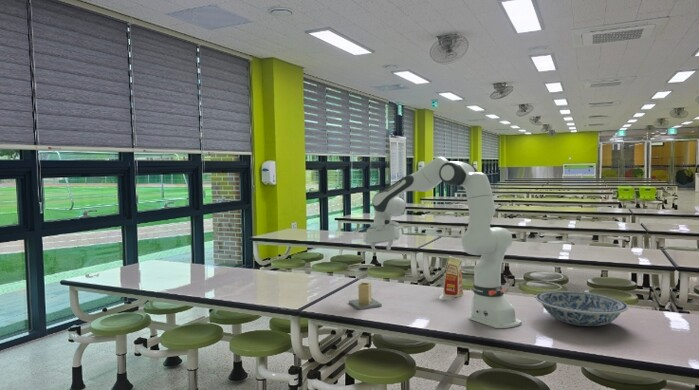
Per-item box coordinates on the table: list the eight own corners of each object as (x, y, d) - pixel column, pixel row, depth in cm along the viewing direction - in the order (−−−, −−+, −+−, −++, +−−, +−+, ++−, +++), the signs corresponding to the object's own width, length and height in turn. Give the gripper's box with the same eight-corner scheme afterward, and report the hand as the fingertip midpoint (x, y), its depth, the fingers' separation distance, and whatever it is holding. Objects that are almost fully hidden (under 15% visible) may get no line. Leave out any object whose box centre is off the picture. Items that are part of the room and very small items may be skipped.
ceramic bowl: (638, 321, 192) (638, 298, 192) (612, 345, 168) (612, 318, 168) (554, 305, 217) (554, 284, 216) (521, 323, 193) (521, 300, 192)
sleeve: (371, 301, 226) (371, 283, 225) (368, 304, 221) (368, 285, 220) (361, 300, 227) (361, 282, 227) (358, 303, 222) (358, 284, 222)
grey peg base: (381, 306, 221) (381, 293, 220) (358, 309, 216) (358, 296, 216) (371, 299, 232) (370, 287, 231) (348, 303, 227) (348, 290, 227)
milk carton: (443, 295, 237) (442, 257, 236) (448, 291, 245) (447, 253, 244) (460, 297, 233) (460, 258, 232) (465, 293, 241) (465, 255, 240)
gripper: (363, 226, 243) (361, 251, 238) (393, 219, 229) (393, 247, 224) (371, 229, 247) (369, 254, 242) (401, 223, 233) (400, 249, 229)
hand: (381, 250), depth 233 cm, fingers open, 8 cm apart
